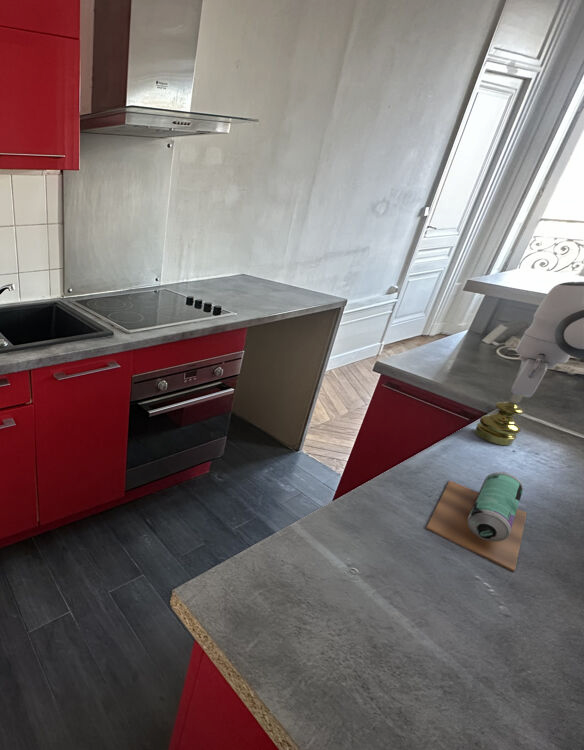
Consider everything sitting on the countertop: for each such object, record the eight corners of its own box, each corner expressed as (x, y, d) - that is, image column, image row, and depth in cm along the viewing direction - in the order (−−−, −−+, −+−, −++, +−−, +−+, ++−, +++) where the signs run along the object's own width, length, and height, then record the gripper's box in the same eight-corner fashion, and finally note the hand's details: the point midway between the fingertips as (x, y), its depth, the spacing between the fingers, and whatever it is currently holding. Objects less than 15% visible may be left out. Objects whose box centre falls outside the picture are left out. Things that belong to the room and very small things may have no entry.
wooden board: (448, 481, 88) (449, 480, 88) (526, 514, 80) (527, 512, 80) (425, 528, 76) (426, 526, 76) (513, 572, 68) (515, 570, 68)
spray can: (478, 485, 86) (456, 533, 74) (495, 467, 83) (475, 513, 71) (511, 503, 82) (494, 555, 71) (530, 484, 79) (516, 535, 68)
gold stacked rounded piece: (466, 427, 107) (484, 394, 103) (497, 430, 107) (516, 397, 102) (487, 444, 101) (507, 409, 96) (520, 447, 100) (542, 412, 96)
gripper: (560, 365, 89) (527, 419, 95) (565, 343, 101) (535, 393, 107) (520, 356, 93) (491, 408, 99) (529, 336, 105) (503, 384, 111)
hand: (514, 400), depth 103 cm, fingers closed
